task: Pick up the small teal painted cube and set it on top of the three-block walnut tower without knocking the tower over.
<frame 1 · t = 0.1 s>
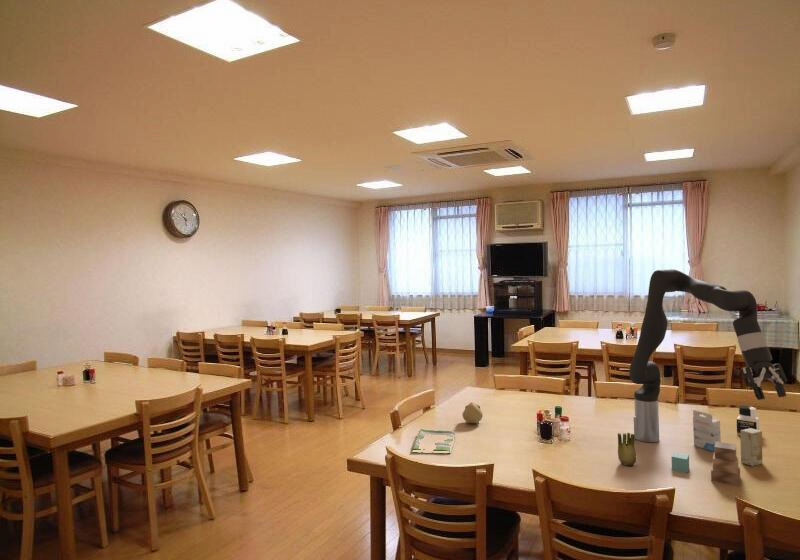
hand: (772, 398, 160), 31 cm above the table, tool tilted 20°, fingers open, 8 cm apart
cube: (680, 469, 183), on the table
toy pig: (473, 423, 246), on the table
skincare box: (751, 463, 186), on the table
tower top: (725, 457, 173), point 8 cm above the table, touching tower mid
fennel bulb: (627, 464, 189), on the table
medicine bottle: (748, 434, 216), on the table
tower base: (725, 480, 173), on the table, touching tower mid
ink box: (707, 448, 203), on the table
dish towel: (434, 445, 219), on the table
tower mid: (725, 468, 173), point 4 cm above the table, touching tower base, tower top
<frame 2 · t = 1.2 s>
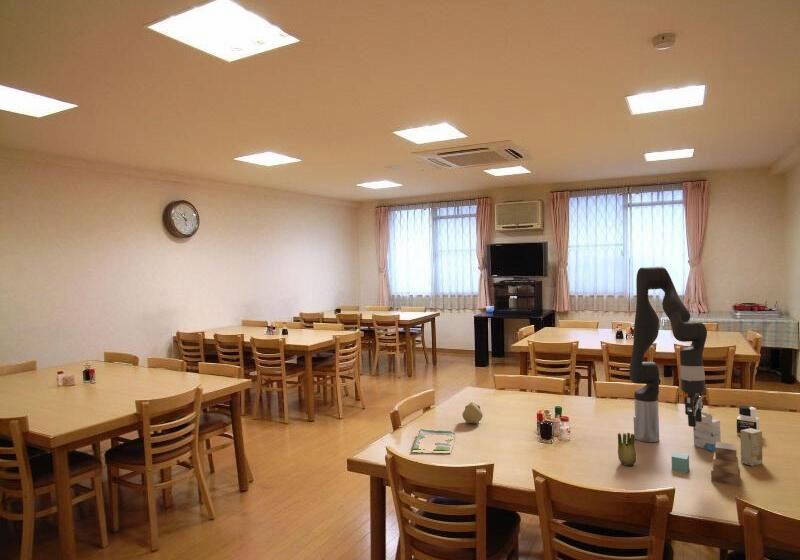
hand: (695, 424, 177), 18 cm above the table, tool pointing down, fingers open, 8 cm apart
tower base: (725, 480, 173), on the table
tower mid: (725, 468, 173), point 4 cm above the table, touching tower top
everything else where it was.
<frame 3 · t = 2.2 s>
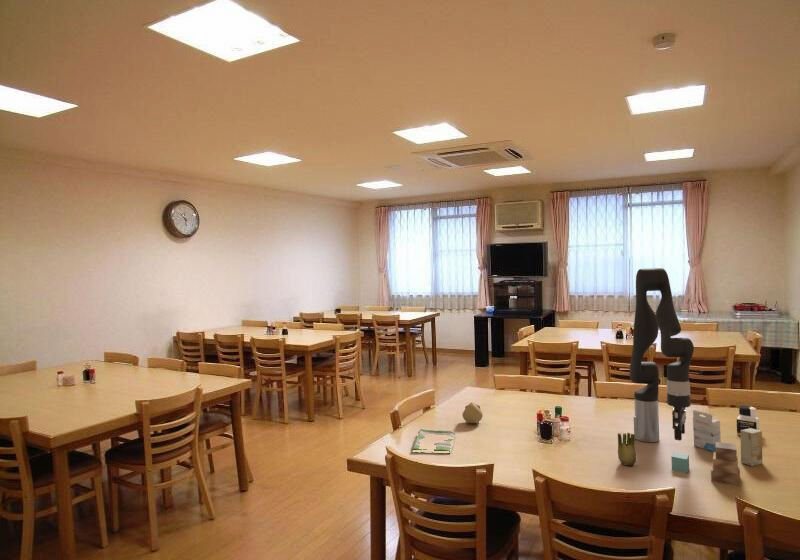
hand: (679, 436, 183), 12 cm above the table, tool pointing down, fingers open, 8 cm apart
tower top: (726, 457, 173), point 8 cm above the table
tower base: (725, 480, 173), on the table, touching tower mid
tower mid: (725, 468, 173), point 4 cm above the table, touching tower base
everything else where it was.
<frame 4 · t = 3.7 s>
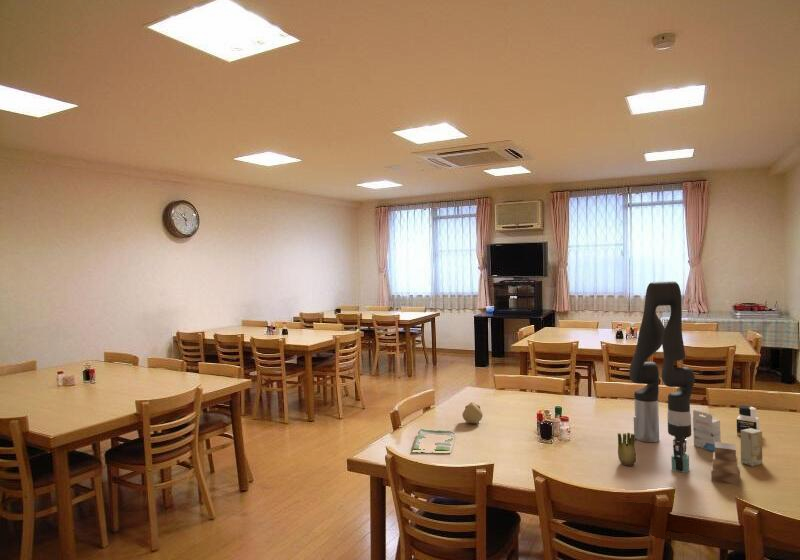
hand: (680, 467, 183), 0 cm above the table, tool pointing down, fingers closed on cube, 5 cm apart
cube: (680, 469, 183), on the table, touching gripper
tower top: (725, 457, 173), point 8 cm above the table, touching tower mid
tower mid: (725, 468, 173), point 4 cm above the table, touching tower base, tower top
everything else where it was.
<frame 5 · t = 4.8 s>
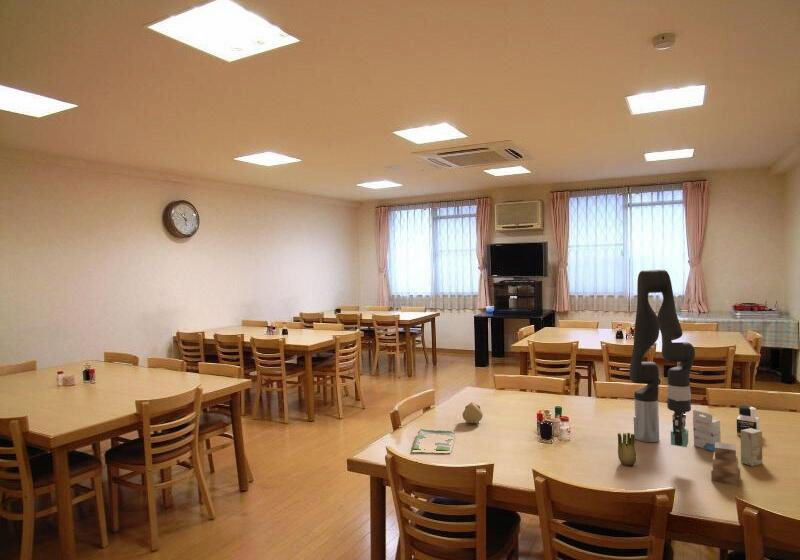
hand: (679, 442, 183), 10 cm above the table, tool pointing down, fingers closed on cube, 5 cm apart
cube: (679, 443, 183), point 9 cm above the table, touching gripper
everything else where it was.
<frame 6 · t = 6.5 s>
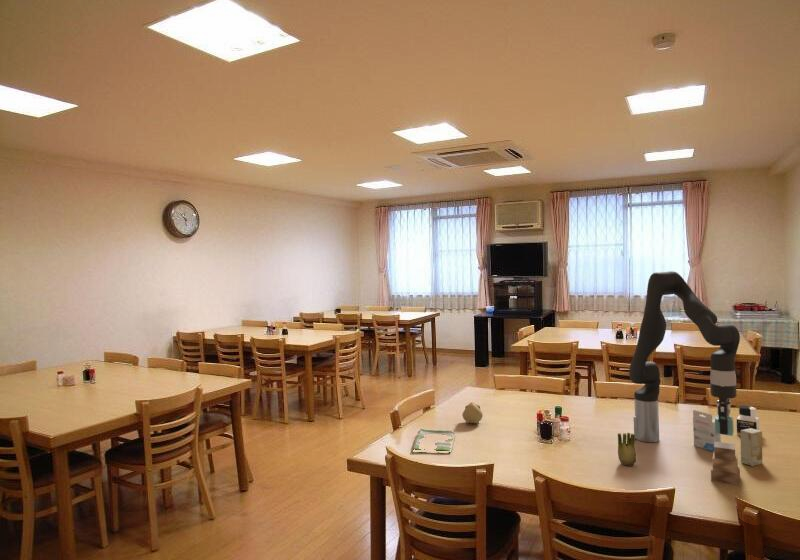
hand: (724, 431, 173), 17 cm above the table, tool pointing down, fingers closed on cube, 5 cm apart
cube: (724, 432, 173), point 16 cm above the table, touching gripper
everything else where it was.
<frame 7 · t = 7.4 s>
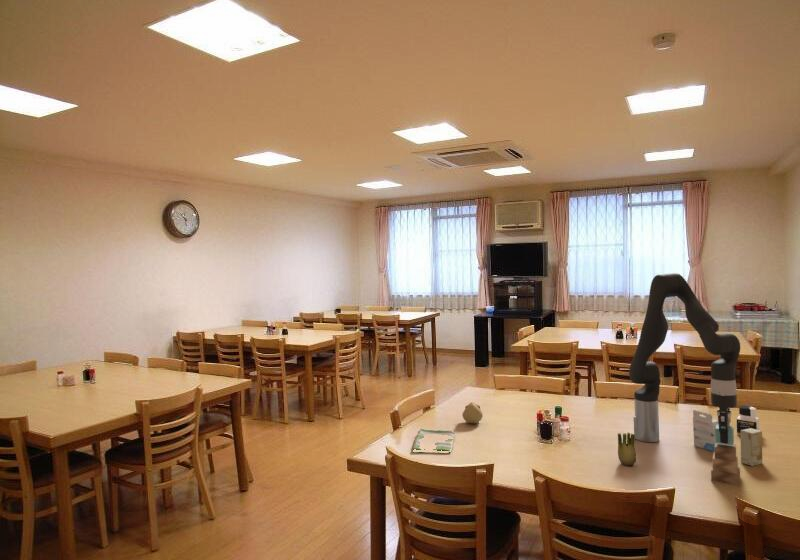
hand: (724, 440, 173), 14 cm above the table, tool pointing down, fingers closed on cube, 4 cm apart
cube: (724, 441, 173), point 13 cm above the table, touching gripper
tower top: (725, 457, 173), point 8 cm above the table
tower mid: (725, 468, 173), point 4 cm above the table, touching tower base
everything else where it was.
when the fingers open (14 cm above the table, at t = 7.5 s): cube drops 1 cm, resting on tower top.
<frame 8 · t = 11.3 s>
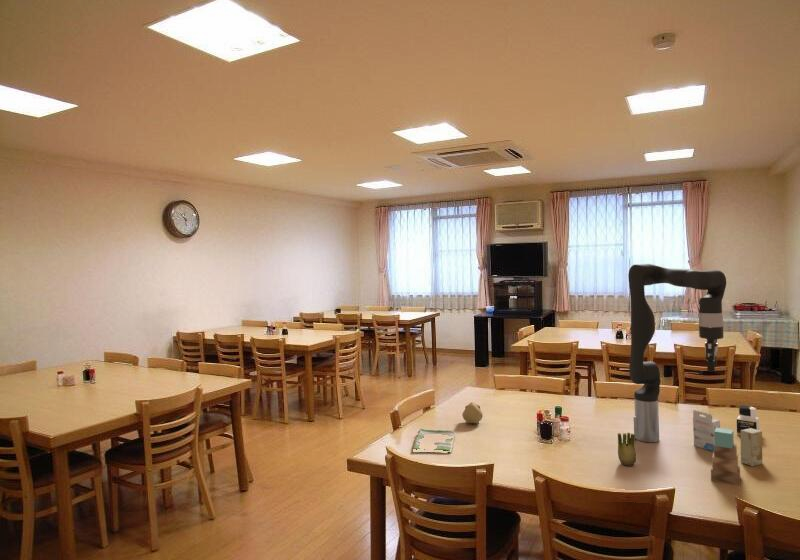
hand: (712, 369, 183), 36 cm above the table, tool pointing down, fingers open, 8 cm apart
cube: (724, 444, 174), point 12 cm above the table, touching tower top
tower top: (725, 456, 174), point 8 cm above the table, touching cube, tower mid
tower mid: (725, 467, 174), point 4 cm above the table, touching tower base, tower top
everything else where it was.
at the end: cube 0.5 cm off-centre on the tower top, point 4.0 cm above the tower top's base; tower top tilted 0°; tower top point 7.7 cm above the table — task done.
